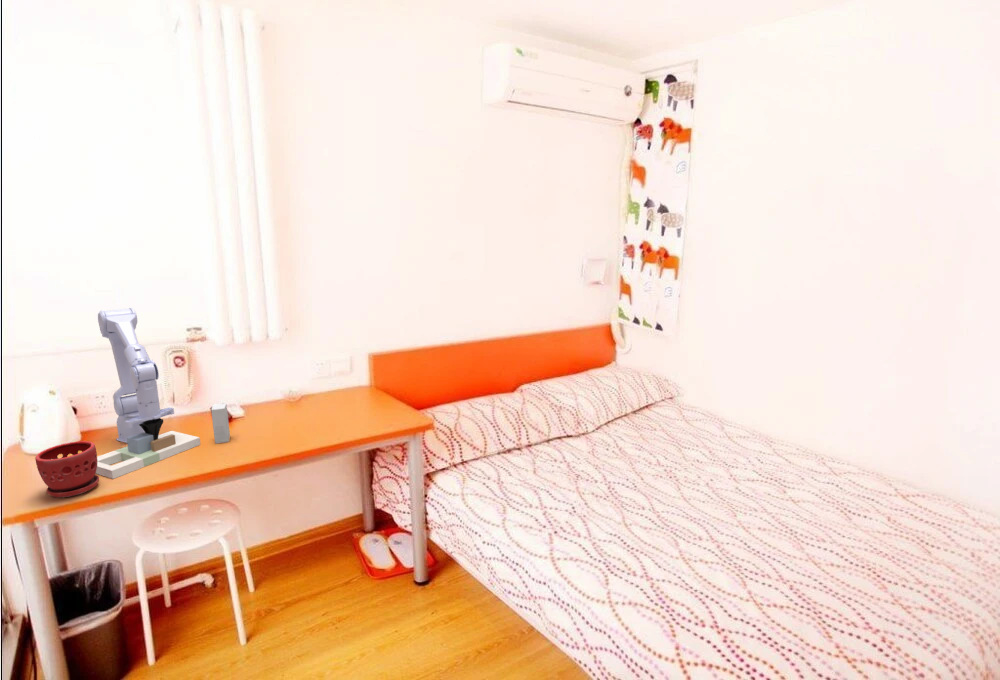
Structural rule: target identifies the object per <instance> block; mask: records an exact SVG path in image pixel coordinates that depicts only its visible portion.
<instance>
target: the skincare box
mask: <svg viewBox="0 0 1000 680" xmlns="http://www.w3.org/2000/svg"><path fill="white" fill-rule="evenodd" d="M211 421H212V428H213V438H214V444H221V443H222V444H224V443H229V441H230V437H231V433H230V431H231V430H230V425H229V415H228V405H227V403H226V402H225V403H223V402H222V403H213V404H212V406H211Z"/></svg>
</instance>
